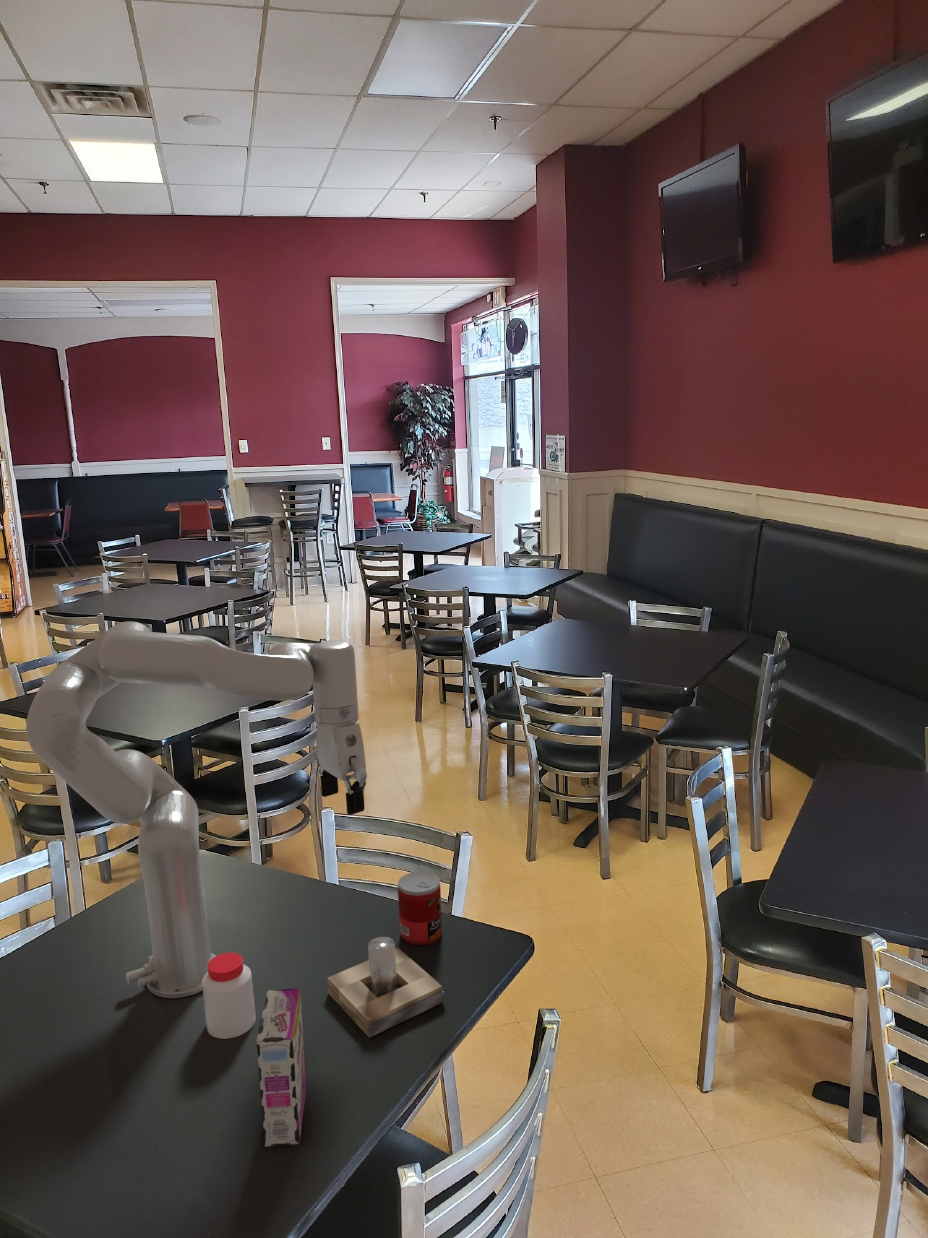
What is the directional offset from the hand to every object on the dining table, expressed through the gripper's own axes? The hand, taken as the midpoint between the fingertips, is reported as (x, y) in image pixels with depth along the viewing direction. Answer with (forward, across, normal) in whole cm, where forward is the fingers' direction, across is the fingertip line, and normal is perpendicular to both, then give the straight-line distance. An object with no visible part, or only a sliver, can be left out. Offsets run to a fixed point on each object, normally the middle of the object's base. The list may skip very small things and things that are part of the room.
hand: (342, 803), depth 157 cm
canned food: (+28, -5, -12) cm, 31 cm away
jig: (+28, -17, +3) cm, 33 cm away
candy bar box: (+28, -31, +27) cm, 50 cm away
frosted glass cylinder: (+28, -17, +3) cm, 33 cm away
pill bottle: (+28, -7, +26) cm, 39 cm away
